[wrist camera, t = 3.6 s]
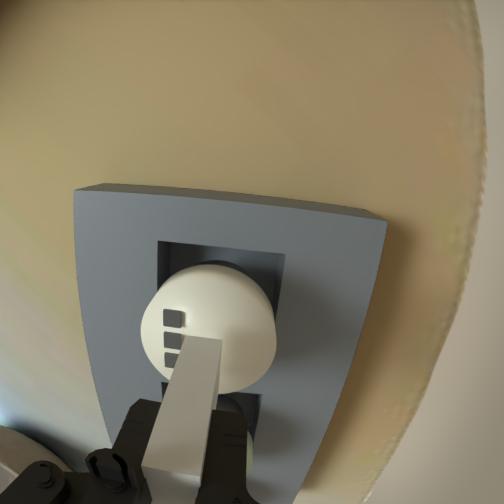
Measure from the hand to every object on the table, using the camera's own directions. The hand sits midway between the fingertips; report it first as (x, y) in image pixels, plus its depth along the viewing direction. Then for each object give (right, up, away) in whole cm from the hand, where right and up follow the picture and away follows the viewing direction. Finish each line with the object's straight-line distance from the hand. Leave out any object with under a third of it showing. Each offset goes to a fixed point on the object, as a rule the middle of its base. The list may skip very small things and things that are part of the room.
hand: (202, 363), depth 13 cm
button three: (0, +2, +6) cm, 6 cm away
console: (-1, -7, +12) cm, 14 cm away
